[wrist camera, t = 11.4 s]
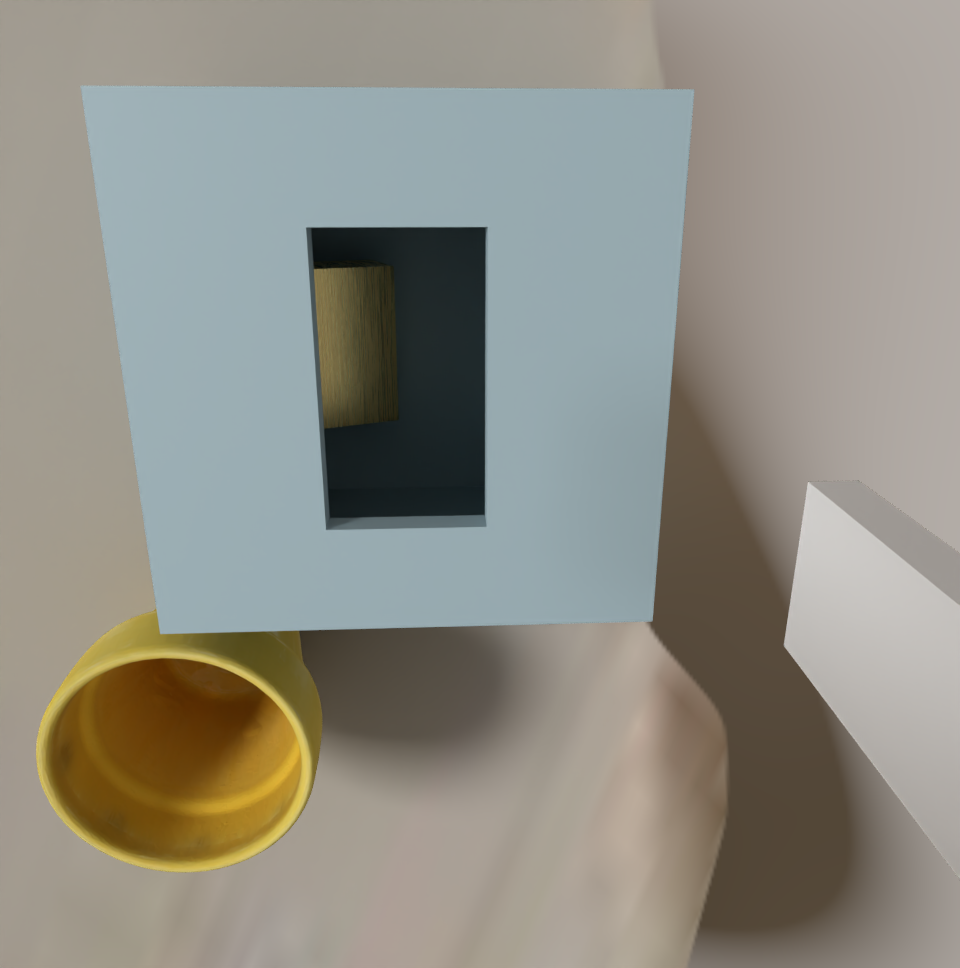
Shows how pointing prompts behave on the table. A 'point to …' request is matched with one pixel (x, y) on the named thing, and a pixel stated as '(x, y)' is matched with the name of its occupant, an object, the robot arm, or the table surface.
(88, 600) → the table surface
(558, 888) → the table surface
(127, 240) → the box
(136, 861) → the plant pot
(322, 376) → the yellow rectangular block
